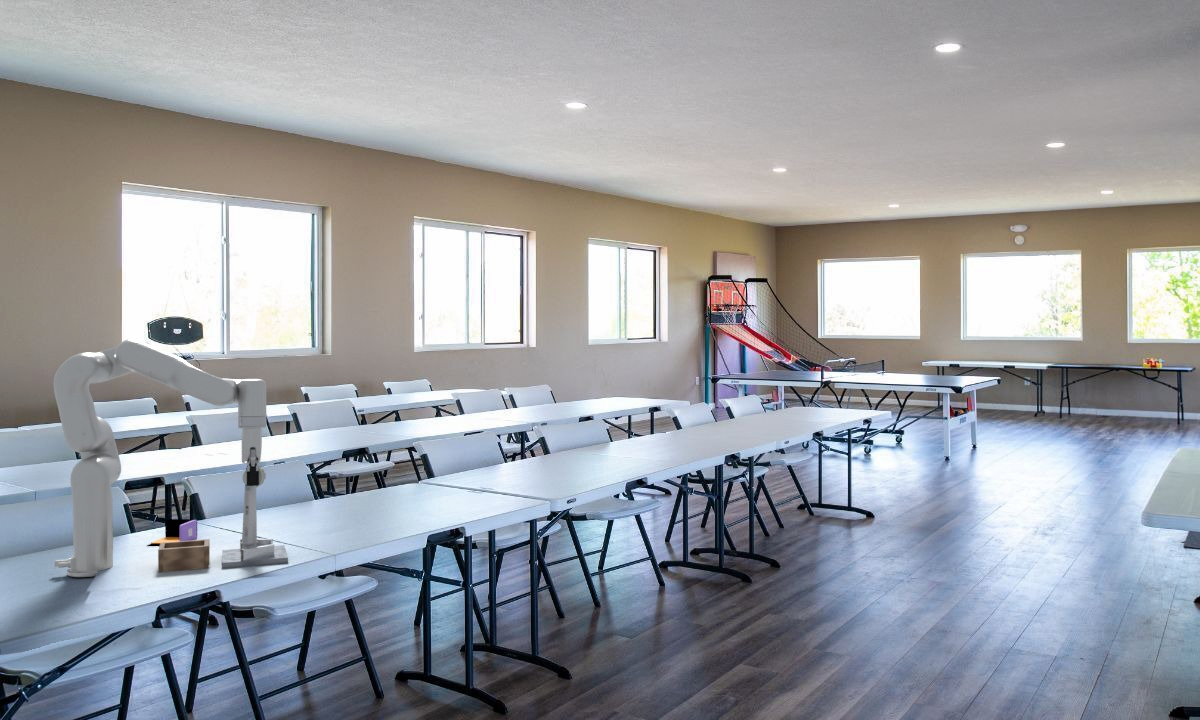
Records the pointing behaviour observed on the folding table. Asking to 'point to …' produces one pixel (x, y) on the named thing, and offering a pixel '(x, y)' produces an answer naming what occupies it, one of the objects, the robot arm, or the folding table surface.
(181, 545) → the open wooden box
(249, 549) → the v block
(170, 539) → the dollhouse room
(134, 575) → the folding table surface
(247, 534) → the handheld massager
